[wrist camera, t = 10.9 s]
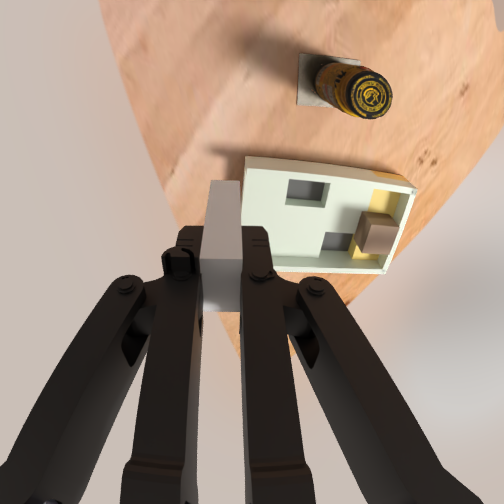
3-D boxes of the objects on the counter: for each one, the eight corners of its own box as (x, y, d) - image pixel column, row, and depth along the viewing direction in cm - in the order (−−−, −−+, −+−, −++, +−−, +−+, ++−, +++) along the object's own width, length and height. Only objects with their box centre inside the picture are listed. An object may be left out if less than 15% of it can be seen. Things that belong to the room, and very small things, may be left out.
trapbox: (245, 155, 41) (247, 168, 37) (402, 175, 44) (417, 189, 40) (236, 250, 51) (237, 269, 47) (375, 256, 53) (385, 274, 49)
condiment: (355, 109, 38) (395, 131, 28) (296, 104, 37) (320, 123, 28) (359, 60, 34) (403, 66, 24) (298, 53, 33) (325, 52, 23)
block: (361, 210, 45) (371, 224, 41) (389, 214, 45) (399, 227, 42) (353, 238, 48) (361, 253, 44) (379, 240, 48) (389, 254, 45)
